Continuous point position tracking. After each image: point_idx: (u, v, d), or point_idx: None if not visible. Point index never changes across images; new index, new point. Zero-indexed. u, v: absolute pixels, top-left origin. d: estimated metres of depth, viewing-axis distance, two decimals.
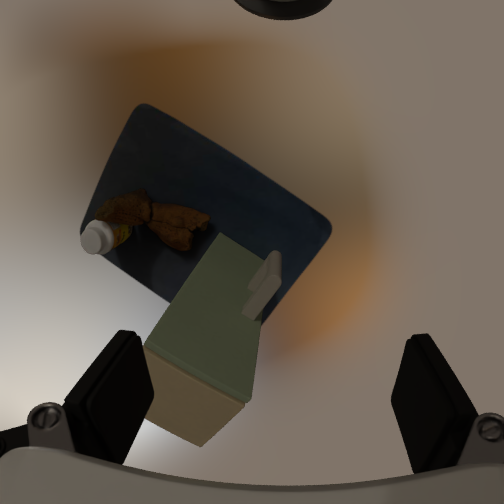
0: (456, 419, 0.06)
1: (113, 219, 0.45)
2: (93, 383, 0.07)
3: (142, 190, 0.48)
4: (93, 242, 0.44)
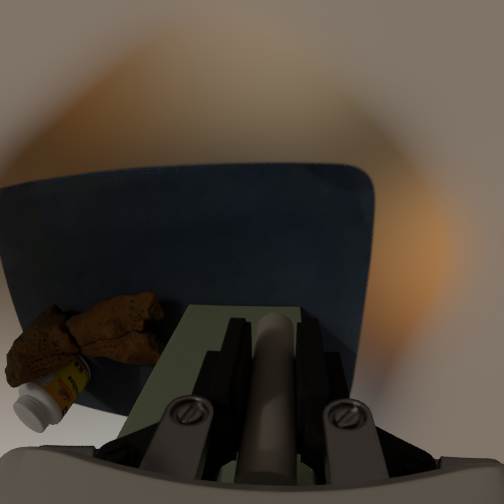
0: (309, 398, 0.07)
1: (33, 374, 0.23)
2: (233, 369, 0.08)
3: (47, 310, 0.26)
4: (30, 418, 0.22)
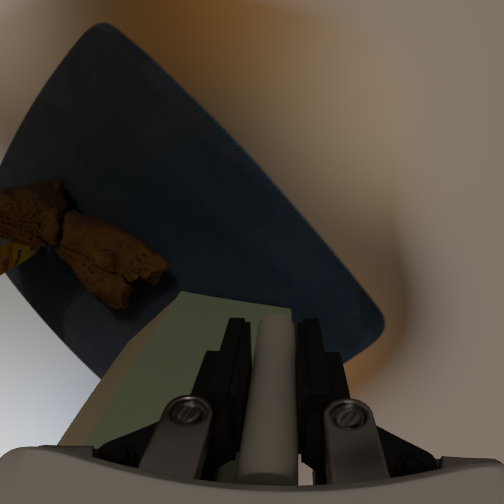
0: (309, 398, 0.07)
1: None
2: (232, 369, 0.08)
3: (55, 183, 0.22)
4: None
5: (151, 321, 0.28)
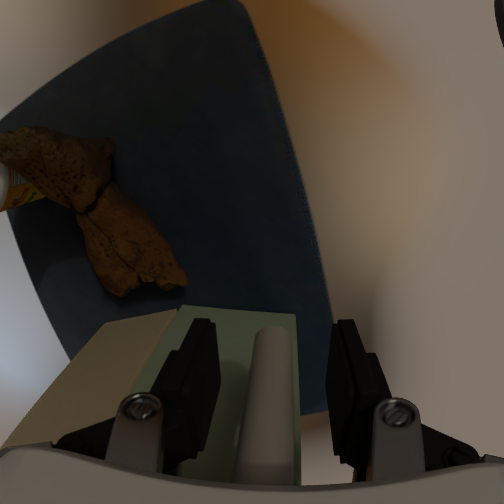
0: (357, 399, 0.07)
1: (19, 169, 0.16)
2: (187, 368, 0.08)
3: (108, 147, 0.20)
4: None
5: (140, 317, 0.27)
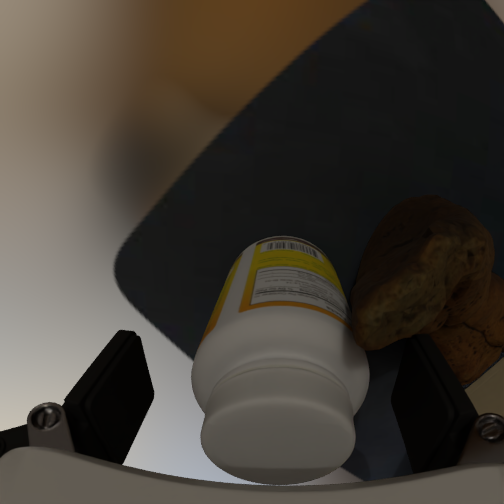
0: (456, 419, 0.06)
1: None
2: (93, 383, 0.07)
3: None
4: (298, 455, 0.07)
5: (472, 388, 0.17)
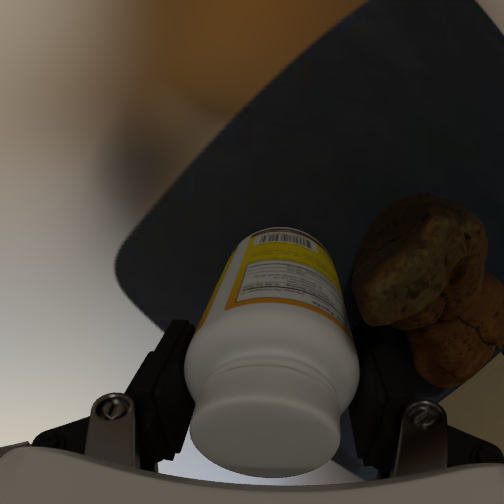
0: (387, 402, 0.07)
1: None
2: (160, 370, 0.08)
3: None
4: (284, 450, 0.07)
5: (467, 385, 0.18)
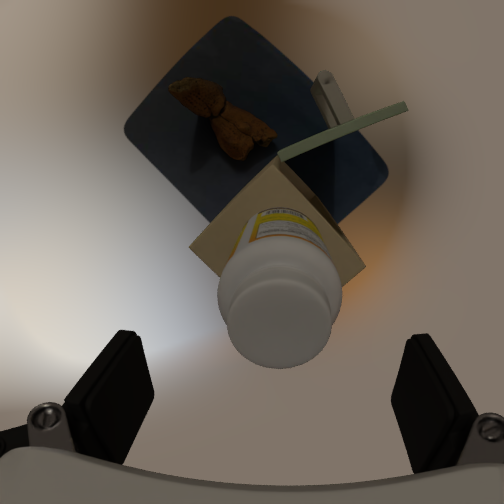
0: (456, 419, 0.06)
1: (184, 98, 0.41)
2: (93, 383, 0.07)
3: (220, 86, 0.44)
4: (293, 332, 0.12)
5: None
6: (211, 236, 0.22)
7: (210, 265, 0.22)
